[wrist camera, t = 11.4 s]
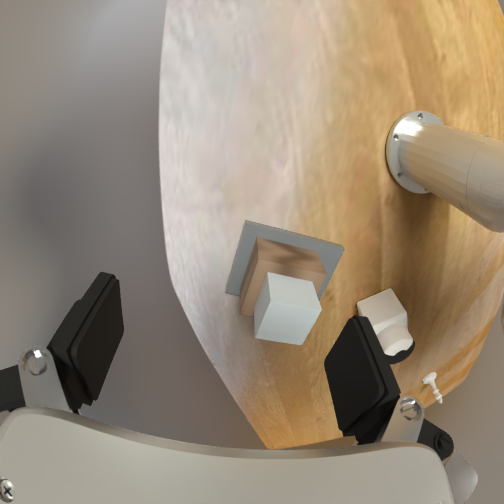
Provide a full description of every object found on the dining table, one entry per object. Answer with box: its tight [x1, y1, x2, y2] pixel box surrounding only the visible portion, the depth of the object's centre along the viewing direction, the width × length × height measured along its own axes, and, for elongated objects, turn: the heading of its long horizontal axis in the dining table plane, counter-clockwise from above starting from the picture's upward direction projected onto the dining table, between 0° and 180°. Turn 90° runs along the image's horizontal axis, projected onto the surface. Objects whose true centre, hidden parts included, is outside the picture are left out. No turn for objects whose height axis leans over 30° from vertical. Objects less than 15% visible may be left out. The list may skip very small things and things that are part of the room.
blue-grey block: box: [254, 272, 322, 345], centre depth 33 cm, size 6×6×6 cm
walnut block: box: [240, 237, 327, 317], centre depth 38 cm, size 9×9×6 cm
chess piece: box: [423, 372, 442, 403], centre depth 58 cm, size 5×5×10 cm
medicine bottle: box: [356, 288, 415, 364], centre depth 41 cm, size 7×7×12 cm
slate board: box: [226, 220, 344, 300], centre depth 41 cm, size 15×12×1 cm
